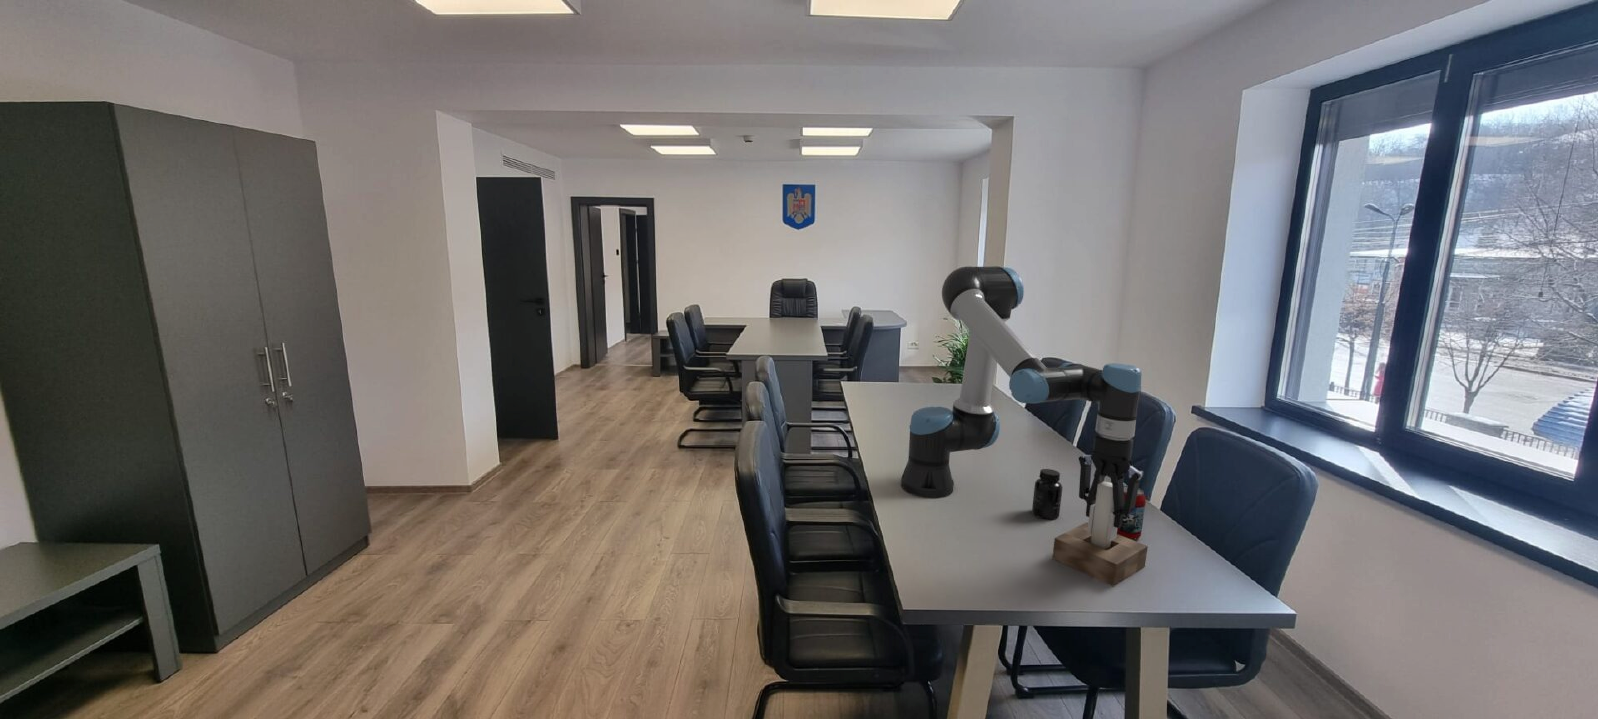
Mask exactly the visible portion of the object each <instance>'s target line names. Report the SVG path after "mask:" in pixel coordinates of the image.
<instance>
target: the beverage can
mask: <svg viewBox="0 0 1598 719" xmlns="http://www.w3.org/2000/svg"><path fill="white" fill-rule="evenodd" d="M1123 486H1124V500H1125V498H1126V493H1127V488H1128V485H1123ZM1146 502H1147V498H1146V496H1145V494H1144V491H1143V489H1141V488H1138V493H1137V498H1136V503H1135V508H1134V511H1133V512H1132V513H1130V514H1128V515H1125V514H1124V515H1123V523H1122V526H1121V527H1119V528H1117V534H1118V535H1121V536H1123V537H1126V538H1128V539H1131V540H1136V539H1139V538H1141V536H1142V531H1143V524H1144V519H1145V518H1144V517H1145V511H1146V510H1145V509H1146Z"/></svg>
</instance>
